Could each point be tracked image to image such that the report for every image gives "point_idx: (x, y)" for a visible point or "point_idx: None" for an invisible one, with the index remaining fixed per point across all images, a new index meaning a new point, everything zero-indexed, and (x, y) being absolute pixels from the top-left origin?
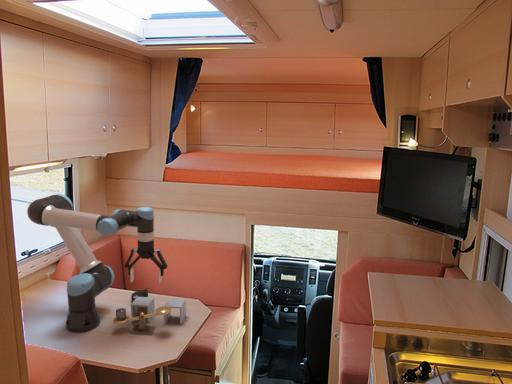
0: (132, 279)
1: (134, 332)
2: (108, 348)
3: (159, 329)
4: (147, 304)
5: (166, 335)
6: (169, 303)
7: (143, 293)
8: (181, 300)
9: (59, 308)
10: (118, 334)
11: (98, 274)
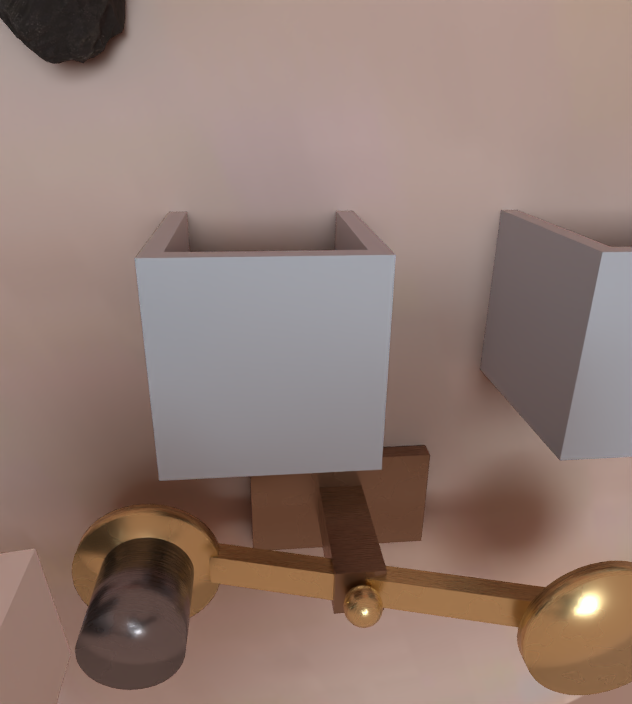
0: (47, 681)
1: (290, 546)
2: (187, 687)
3: (459, 455)
4: (364, 451)
5: (525, 516)
6: (622, 392)
7: None
8: None
9: None
10: None
11: None
